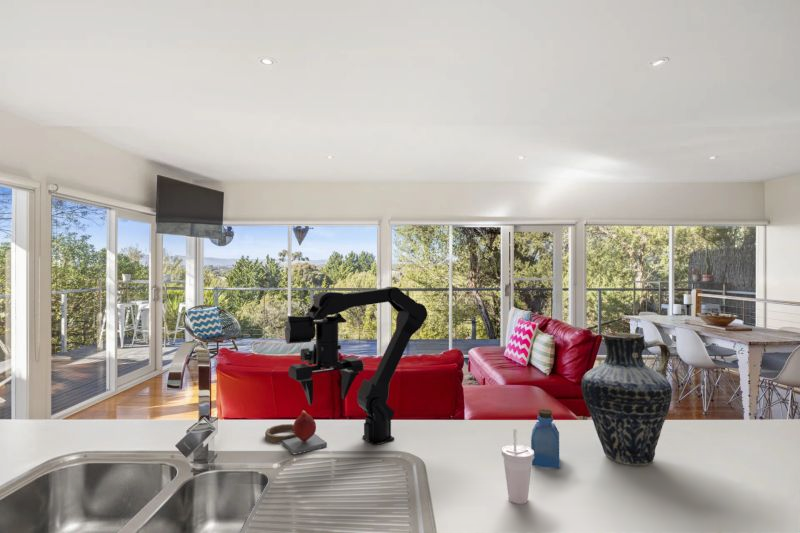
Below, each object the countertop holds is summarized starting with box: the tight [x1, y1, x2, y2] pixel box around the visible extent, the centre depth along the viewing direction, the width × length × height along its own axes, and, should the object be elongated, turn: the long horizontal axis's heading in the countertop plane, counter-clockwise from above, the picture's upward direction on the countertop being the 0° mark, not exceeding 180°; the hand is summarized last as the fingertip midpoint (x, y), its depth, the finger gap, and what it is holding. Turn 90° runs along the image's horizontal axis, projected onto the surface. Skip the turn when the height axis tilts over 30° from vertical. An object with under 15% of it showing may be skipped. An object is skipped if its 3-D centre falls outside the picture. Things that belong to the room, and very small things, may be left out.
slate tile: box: [282, 433, 328, 454], centre depth 118 cm, size 9×8×1 cm
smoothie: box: [501, 427, 534, 505], centre depth 90 cm, size 6×6×14 cm
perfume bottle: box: [530, 408, 560, 470], centre depth 107 cm, size 6×6×12 cm
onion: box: [292, 410, 317, 442], centre depth 118 cm, size 6×6×8 cm
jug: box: [581, 331, 673, 466], centre depth 109 cm, size 21×19×30 cm
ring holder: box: [264, 423, 297, 444], centre depth 125 cm, size 10×10×2 cm
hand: (327, 401), depth 116 cm, fingers open, 9 cm apart
